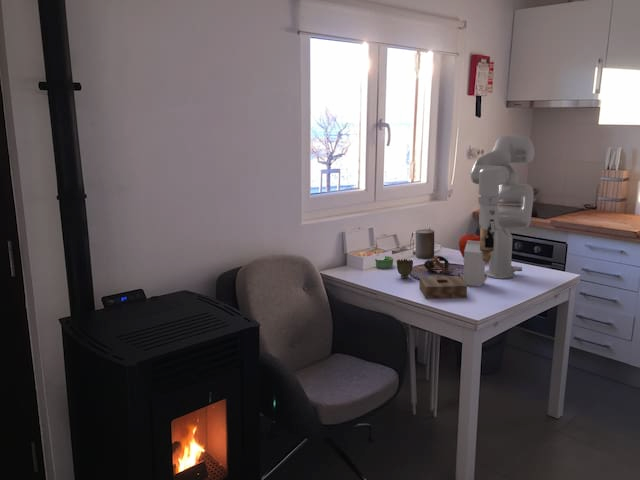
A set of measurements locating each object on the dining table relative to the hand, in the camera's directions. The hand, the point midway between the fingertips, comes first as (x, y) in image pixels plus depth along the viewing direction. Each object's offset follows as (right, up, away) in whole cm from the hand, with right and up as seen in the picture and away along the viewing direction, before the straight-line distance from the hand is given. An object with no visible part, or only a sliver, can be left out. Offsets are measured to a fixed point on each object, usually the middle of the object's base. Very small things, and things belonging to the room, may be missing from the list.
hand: (486, 245), depth 214 cm
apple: (+10, -9, +57) cm, 58 cm away
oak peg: (0, -6, +2) cm, 7 cm away
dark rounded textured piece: (-27, -15, +32) cm, 45 cm away
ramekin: (-34, -11, +51) cm, 63 cm away
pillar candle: (-11, -7, +68) cm, 69 cm away
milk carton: (+1, -17, +20) cm, 26 cm away
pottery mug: (-12, -13, +40) cm, 44 cm away
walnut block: (-16, -20, +9) cm, 27 cm away
